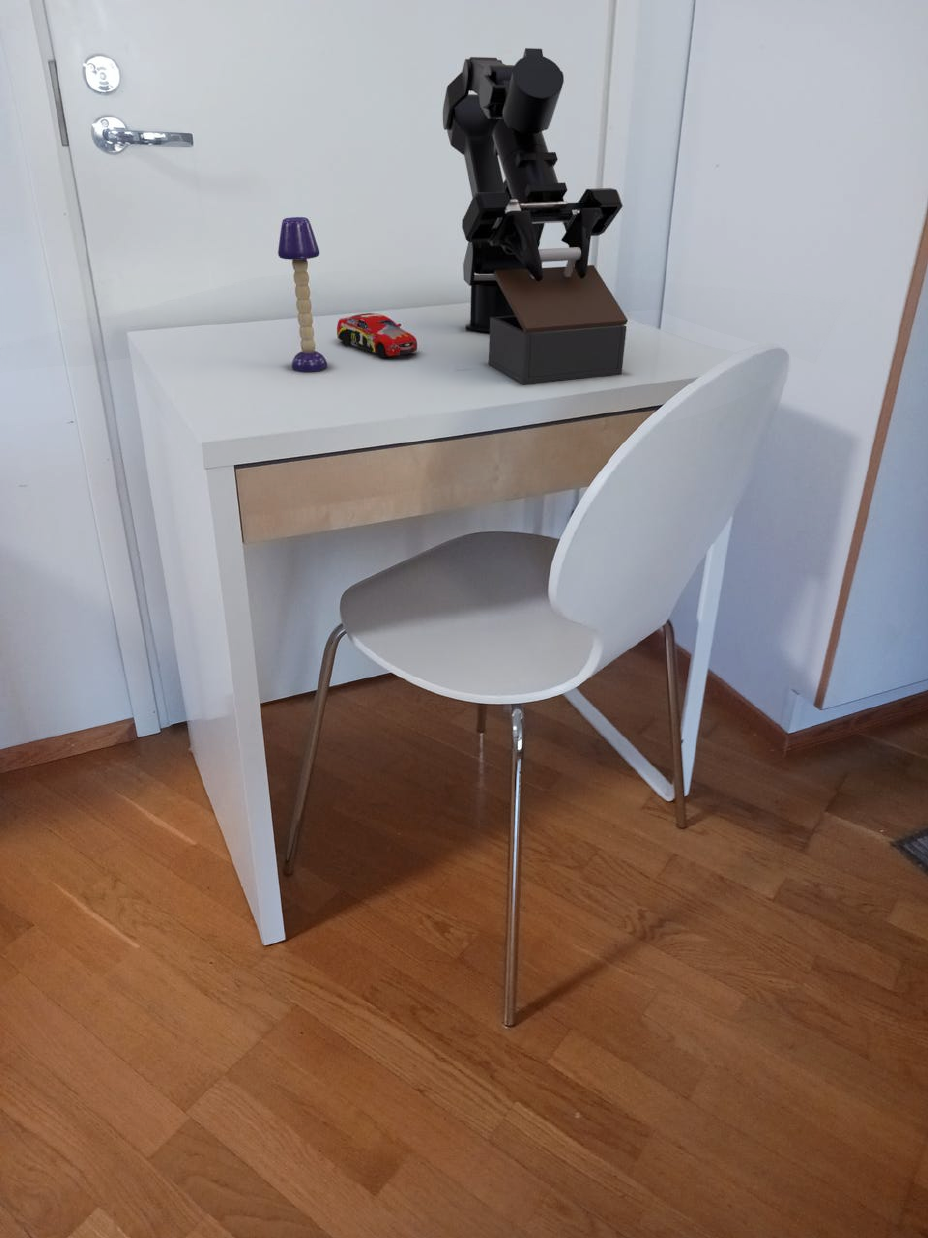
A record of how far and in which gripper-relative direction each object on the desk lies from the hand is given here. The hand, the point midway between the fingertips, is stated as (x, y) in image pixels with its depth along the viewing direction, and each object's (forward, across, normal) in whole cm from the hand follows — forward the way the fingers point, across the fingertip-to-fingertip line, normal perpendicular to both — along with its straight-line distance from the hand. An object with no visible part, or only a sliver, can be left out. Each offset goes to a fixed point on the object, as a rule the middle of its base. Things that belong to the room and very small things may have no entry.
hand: (562, 277), depth 111 cm
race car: (-4, +17, -20) cm, 26 cm away
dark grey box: (+8, 0, -8) cm, 11 cm away
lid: (+2, 0, -2) cm, 3 cm away
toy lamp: (0, +28, -15) cm, 32 cm away
